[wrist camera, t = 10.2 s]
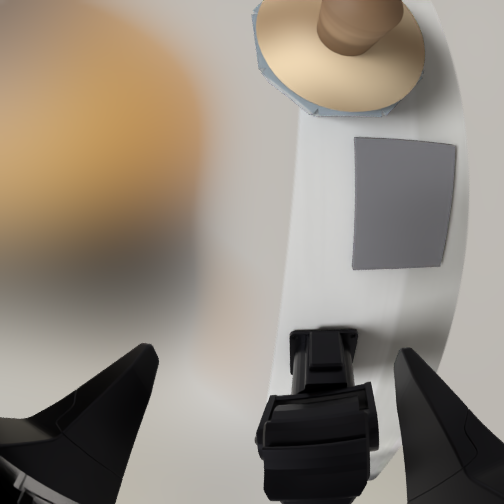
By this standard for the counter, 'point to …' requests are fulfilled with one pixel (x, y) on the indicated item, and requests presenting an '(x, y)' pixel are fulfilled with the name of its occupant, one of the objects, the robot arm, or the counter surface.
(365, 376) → the counter surface
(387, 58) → the lid
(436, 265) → the mat
